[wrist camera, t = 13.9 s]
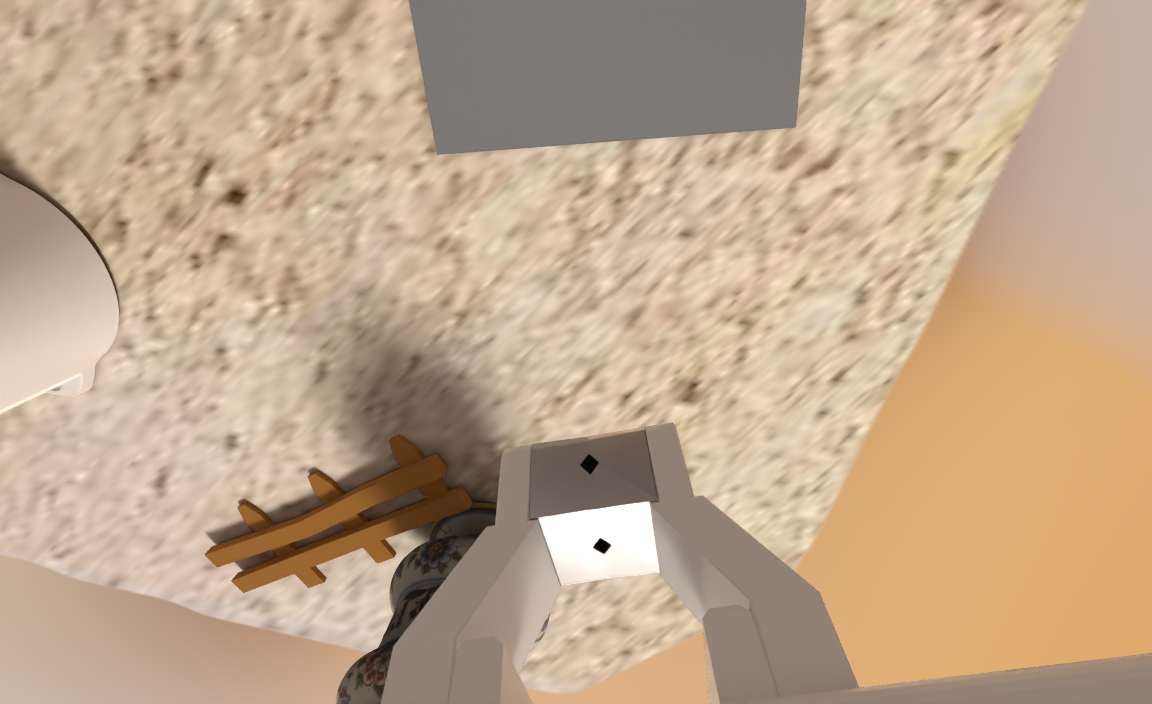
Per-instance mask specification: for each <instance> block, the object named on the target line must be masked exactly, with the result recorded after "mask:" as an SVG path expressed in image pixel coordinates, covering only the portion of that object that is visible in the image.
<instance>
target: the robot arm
mask: <svg viewBox="0 0 1152 704" xmlns="http://www.w3.org/2000/svg"><path fill="white" fill-rule="evenodd" d="M118 325H119V306H118V300H117V296H116V292H115V289H114V286H113V283H112V280H111V278H110V275H109V273H108V271H107V269H106V267H105V265H104V263H103V262H102V260H101V258H100V256H99V255H98V253H97V252H96V250H95V249H94V247H93V246H92V245H91V243H90V242H89V241H88V239H87V238H86V237H85V236H84V234H83V233H82V232H81V231H80V230H79V229H78V228H77V227H76V226H75V224H74V223H73V222H72V221H71V220H70V219H69V218H67V217H66V216H65V215H64V214H63V213H62V212H61V211H60V210H59V209H57V208H56V207H55V206H54V205H52V204H51V203H50V202H48V201H47V200H46V199H44V198H43V197H41V196H40V195H38V194H37V193H35V192H34V191H32V190H30V189H28V188H27V187H25V186H23V185H21V184H19V183H17V182H15V181H13V180H11V179H9V178H7V177H5V176H4V175H2V174H0V413H2V412H4V411H7V410H9V409H11V408H13V407H15V406H17V405H19V404H22V403H24V402H26V401H28V400H30V399H32V398H34V397H36V396H38V395H41V394H43V393H45V392H46V393H53V394H59V395H65V396H77V395H79V394H81V393H84V392H86V391H88V390H89V389H90V388H91V387H92V384H93V381H94V374H95V365H96V363H97V362H98V360H99V359H100V358H101V357H102V356H103V355H104V354H105V353H106V352H107V350H108V349H109V348H110V347H111V345H112V343H113V342H114V339H115V337H116V334H117V331H118ZM652 573H660V576H661V577H662V578H663V579H664V580H665V581H666V583H667V584H668V585H669V586H670V587H671V589H672V590H673V591H674V592H675V593H676V595H677V596H678V597H679V598H680V599H681V601H682V602H683V603H684V604H685V605H686V607H687V608H688V609H689V610H690V611H691V612H692V614H693V615H694V616H695V617H696V618H697V620H698V621H699V622H700V623H701V624H702V626H703V635H704V648H705V662H706V675H707V688H708V699H709V704H1152V653H1148V654H1140V655H1132V656H1123V657H1115V658H1107V659H1097V660H1090V661H1081V662H1072V663H1064V664H1055V665H1047V666H1039V667H1030V668H1022V669H1014V670H1005V671H997V672H988V673H979V674H971V675H962V676H954V677H945V678H937V679H928V680H920V681H911V682H903V683H895V684H887V685H877V686H869V687H860V688H859V686H858V684H857V681H856V679H855V676H854V674H853V672H852V669H851V667H850V664H849V662H848V660H847V657H846V655H845V652H844V650H843V648H842V645H841V643H840V640H839V638H838V636H837V633H836V631H835V628H834V626H833V624H832V621H831V619H830V616H829V614H828V612H827V609H826V607H825V604H824V602H823V599H822V597H821V595H820V592H819V591H818V590H816V589H815V588H814V587H813V586H812V585H810V584H809V583H808V582H807V581H806V580H804V579H803V578H802V577H801V576H799V575H798V574H797V573H796V572H795V571H793V570H792V569H791V568H790V567H789V566H787V565H786V564H785V563H784V562H783V561H781V560H780V559H779V558H778V557H777V556H775V555H774V554H773V553H772V552H771V551H769V550H768V549H767V548H766V547H764V546H763V545H762V544H761V543H760V542H758V541H757V540H756V539H755V538H754V537H752V536H751V535H750V534H749V533H748V532H746V531H745V530H744V529H743V528H742V527H740V526H739V525H738V524H737V523H735V522H734V521H733V520H732V519H731V518H729V517H728V516H727V515H726V514H725V513H723V512H722V511H721V510H720V509H719V508H717V507H716V506H715V505H714V504H713V503H711V502H710V501H709V500H708V499H707V498H705V497H704V496H696V497H694V494H693V491H692V487H691V483H690V479H689V475H688V472H687V468H686V464H685V460H684V456H683V453H682V449H681V445H680V441H679V438H678V434H677V430H676V426H675V425H674V424H673V423H666V424H660V425H654V426H648V427H645V429H644V428H636V429H630V430H624V431H618V432H612V433H606V434H600V435H594V436H588V437H583V438H575V439H567V440H559V441H552V442H544V443H536V444H533V445H526V446H518V447H510V448H505V449H504V451H503V453H502V456H501V467H500V478H499V488H498V499H497V510H496V521H495V525H494V526H488V527H486V528H485V529H484V531H483V532H482V533H481V535H480V536H479V537H478V538H477V540H476V541H475V542H474V544H473V545H472V546H471V547H470V549H469V550H468V551H467V553H466V554H465V555H464V556H463V558H462V559H461V560H460V562H459V563H458V564H457V565H456V567H455V568H454V569H453V571H452V572H451V573H450V574H449V576H448V577H447V578H446V580H445V581H444V582H443V583H442V585H441V586H440V587H439V589H438V590H437V591H436V592H435V594H434V595H433V596H432V598H431V599H430V600H429V601H428V603H427V604H426V605H425V607H424V608H423V609H422V610H421V612H420V613H419V614H418V616H417V617H416V618H415V619H414V621H413V622H412V623H411V625H410V626H409V627H408V628H407V630H406V631H405V632H404V634H403V635H402V636H401V637H400V639H399V640H398V641H397V642H396V644H395V645H394V646H393V651H392V655H391V660H390V664H389V668H388V673H387V677H386V682H385V686H384V691H383V695H382V700H381V704H533V703H532V701H531V699H530V697H529V695H528V693H527V691H526V689H525V687H524V685H523V683H522V681H521V679H520V677H519V675H518V674H519V672H520V670H521V668H522V666H523V664H524V662H525V660H526V658H527V656H528V654H529V652H530V650H531V648H532V646H533V644H534V642H535V640H536V638H537V636H538V634H539V632H540V630H541V628H542V626H543V624H544V622H545V620H546V619H547V617H548V615H549V613H550V611H551V609H552V607H553V605H554V603H555V601H556V599H557V597H558V595H559V593H560V591H561V587H560V586H564V585H570V584H576V583H583V582H589V581H595V580H601V579H607V578H615V577H624V576H634V575H643V574H652Z"/></svg>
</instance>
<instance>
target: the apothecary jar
mask: <svg viewBox="0 0 1152 704" xmlns="http://www.w3.org/2000/svg"><path fill="white" fill-rule="evenodd" d="M496 510H497V504H494V503H488V502H472V503H471V506H470V508H469V509H468V510H465V511H463V512H460V513H457V514H454V515H451V516H448V517H445V518H442V519H440V520H437V521H434V523H433V525H432V527H431V531H430V539H429V542H426V543H424V544H422V545H420V546H418V547H417V548H415V549H414V550H413V551H411V552H410V553H409V554H408V555H407V556H406V557H405V558H404V559H403V560H402V562H401V563H400V564H399V566H398V567H397V569H396V571H395V573H394V575H393V578H392V582H391V586H390V604H391V609H392V612H393V617H392V619H391V621H390V623H389V626H388V628H387V630H386V632H385V634H384V636H383V639H382V641H381V643H380V645H379V647H378V648H377V649H375V650H373V651H371V652H369V653H367V654H366V655H364V656H363V657H362V658H360V659H359V660H358V661H357V662H355V663H354V664H353V665H352V667H351V668H350V669H349V670H348V671H347V673H346V675H345V676H344V678H343V679H342V681H341V684H340V686H339V689H338V693H337V697H336V704H381V700H382V695H383V691H384V686H385V682H386V677H387V673H388V668H389V664H390V660H391V655H392V651H393V646H394V645H395V644H396V642H397V641H398V640H399V639H400V637H401V636H402V635H403V634H404V632H405V631H406V630H407V628H408V627H409V626H410V625H411V623H412V622H413V621H414V619H415V618H416V617H417V616H418V614H419V613H420V612H421V610H422V609H423V608H424V607H425V605H426V604H427V603H428V601H429V600H430V599H431V598H432V596H433V595H434V594H435V592H436V591H437V590H438V589H439V587H440V586H441V585H442V583H443V582H444V581H445V580H446V578H447V577H448V576H449V574H450V573H451V572H452V571H453V569H454V568H455V567H456V565H457V564H458V563H459V562H460V560H461V559H462V558H463V556H464V555H465V554H466V553H467V551H468V550H469V549H470V547H471V546H472V545H473V544H474V542H475V541H476V540H477V538H478V537H479V536H480V535H481V533H482V532H483V531H484V529H485V528H486V527H488V526H494V525H495V521H496ZM549 616H550V613H549V615H548V617H547V619H546V620H545V622H544V624H543V626H542V628H541V630H540V632H539V634H538V636H537V638H536V640H535V642H534V644H533V646H532V648H531V650H530V652H531V651H532V650H533V649H534V648H535V647H536V646H537V644H538V643H539V642H540V640H541V639H542V637H543V635H544V633H545V631H546V628H547V625H548V621H549Z"/></svg>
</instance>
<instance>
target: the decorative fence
mask: <svg viewBox="0 0 1152 704" xmlns="http://www.w3.org/2000/svg"><path fill="white" fill-rule="evenodd" d="M389 443H390V446H391V449H392V452H393V454H394V457H395V459H396V460H397V462H398V463H399V464H400V465H401V467H402V468H400V469H398V470H396V471H393V472H391V473H389V474H386V475H384V476H382V477H379V478H377V479H375V480H372V481H370V482H368V483H365V484H363V485H361V486H359V487H357V488H355V489H354V490H352V491H350V492H348V493H346V494H345V493H344V492H343V491H342V490H341V489H340V487H339V486H338V485H337V484H336V483H335V482H334V481H333V480H331V479H330V478H329V477H327V476H326V475H324V474H323V473H321V472H320V471H316V472H313V473H311V474H310V475H309V476H308V479H309V481H310V483H311V486H312V488H313V490H314V492H315V494H316V495H317V496H318V497H319V498H320V499H321V500H322V501H323V503H324V505H322V506H320V507H319V508H317V509H315V510H313V511H311V512H309V513H307V514H305V515H302V516H300V517H297V518H294V519H291V520H288V521H285V522H282V523H279V524H275V523H274V522H273V521H272V520H271V519H270V518H269V517H268V516H267V515H266V514H265V513H264V512H263V511H261V510H260V509H258V508H257V507H255V506H254V505H252V504H250V503H249V502H245V503H243V504H241V505H240V506H239V507H238V510H239V512H240V514H241V516H242V517H243V519H244V521H245V523H246V524H247V525H248V526H249V527H250V528H251V529H252V530H253V531H254V532H253V533H250V534H247V535H245V536H242V537H239V538H236V539H233V540H230V541H227V542H224V543H221V544H218V545H216V546H213V547H211V548H210V549H209V550H208V551H207V553H206V554H205V556H206V557H207V558H208V559H209V560H210V561H211V562H212V563H213V564H214V565H215V566H216V567H220V566H223V565H226V564H229V563H232V562H235V561H238V560H241V559H244V558H247V557H250V556H253V555H256V554H259V553H262V552H265V551H268V550H272V551H273V552H274V553H275V554H276V555H277V556H278V557H276V558H274V559H271V560H269V561H266V562H264V563H261V564H259V565H256V566H254V567H251V568H249V569H246V570H244V571H241V572H239V573H237V575H236V576H235V577H234V578H233V580H232V582H233V583H234V584H235V585H236V586H237V587H238V588H239V589H240V590H241V591H242V592H243V593H245V592H247V591H250V590H253V589H255V588H258V587H261V586H263V585H266V584H268V583H271V582H274V581H276V580H279V579H282V578H284V577H287V576H290V575H292V574H296V575H297V577H298V578H299V579H300V580H301V581H302V582H303V583H304V584H305V585H306V586H307V587H308V588H310V587H313V586H315V585H318V584H321V583H324V582H325V580H326V577H325V576H324V575H323V574H322V573H321V572H320V571H319V570H318V569H317V568H316V565H319V564H321V563H324V562H327V561H329V560H332V559H334V558H337V557H340V556H342V555H345V554H347V553H350V552H352V551H355V550H358V549H360V548H364V549H365V550H366V551H367V552H368V554H369V555H370V556H371V557H372V558H373V559H374V560H375V562H376V563H380V562H383V561H385V560H388V559H391V558H394V557H395V555H396V552H395V551H394V550H393V549H392V547H391V546H390V545H389V544H388V543H387V542H386V540H385V539H386V538H388V537H391V536H394V535H397V534H399V533H402V532H405V531H408V530H411V529H414V528H417V527H420V526H422V525H425V524H428V523H431V522H434V521H437V520H440V519H442V518H445V517H448V516H451V515H454V514H457V513H460V512H463V511H465V510H468V509H469V508H470V506H471V503H472V500H471V498H470V497H469V496H468V495H467V493H466V492H465V491H464V489H463V488H462V487H461V486H460V487H457V488H455V489H452V490H450V489H449V488H448V487H447V485H446V484H445V483H444V482H443V480H442V479H441V478H443V477H445V475H446V473H447V471H448V468H447V467H446V465H445V464H444V463H443V461H442V460H441V459H440V457H439V456H438V455H437V453H436V454H433V455H431V456H429V457H426V458H425V457H424V456H423V454H422V453H421V452H420V451H419V449H418V448H417V447H416V446H415V445H414V444H412V443H411V442H409V441H408V440H407V439H405V438H404V437H402V436H401V435H397V436H395V437H393V438H391V439H390V441H389ZM416 488H419V489H420V491H421V492H422V493H423V494H424V496H425V497H426V498H427V499H426V500H424V501H421V502H418V503H416V504H413V505H411V506H408V507H405V508H403V509H400V510H398V511H395V512H392V513H390V514H387V515H385V516H382V517H379V518H377V519H374V520H371V521H368V520H367V519H366V517H365V516H364V515H363V514H362V513H361V512H362V511H364V510H366V509H368V508H370V507H372V506H374V505H376V504H379V503H381V502H384V501H386V500H389V499H391V498H394V497H396V496H398V495H401V494H403V493H406V492H408V491H411V490H413V489H416ZM339 522H341V523H342V524H343V525H344V526H345V528H346V529H347V530H345V531H343V532H340V533H338V534H335V535H332V536H330V537H327V538H324V539H322V540H319V541H317V542H314V543H312V544H309V545H307V546H304V547H302V548H299V549H298V548H297V547H296V545H295V544H294V543H293V542H295V541H298V540H301V539H305V538H308V537H311V536H313V535H315V534H317V533H319V532H321V531H323V530H325V529H327V528H329V527H331V526H333V525H335V524H337V523H339Z"/></svg>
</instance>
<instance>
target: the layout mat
mask: <svg viewBox="0 0 1152 704" xmlns="http://www.w3.org/2000/svg"><path fill="white" fill-rule="evenodd" d="M409 3H410V9H411V14H412V20H413V25H414V31H415V36H416V42H417V47H418V53H419V58H420V63H421V69H422V74H423V80H424V85H425V91H426V96H427V102H428V107H429V112H430V118H431V123H432V129H433V134H434V140H435V145H436V151H437V155H440V154H453V153H466V152H479V151H492V150H505V149H519V148H532V147H545V146H558V145H571V144H584V143H597V142H611V141H624V140H637V139H650V138H663V137H676V136H690V135H703V134H716V133H729V132H742V131H755V130H768V129H782V128H795V127H796V120H797V108H798V96H799V84H800V72H801V60H802V48H803V36H804V24H805V12H806V0H409Z"/></svg>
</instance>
